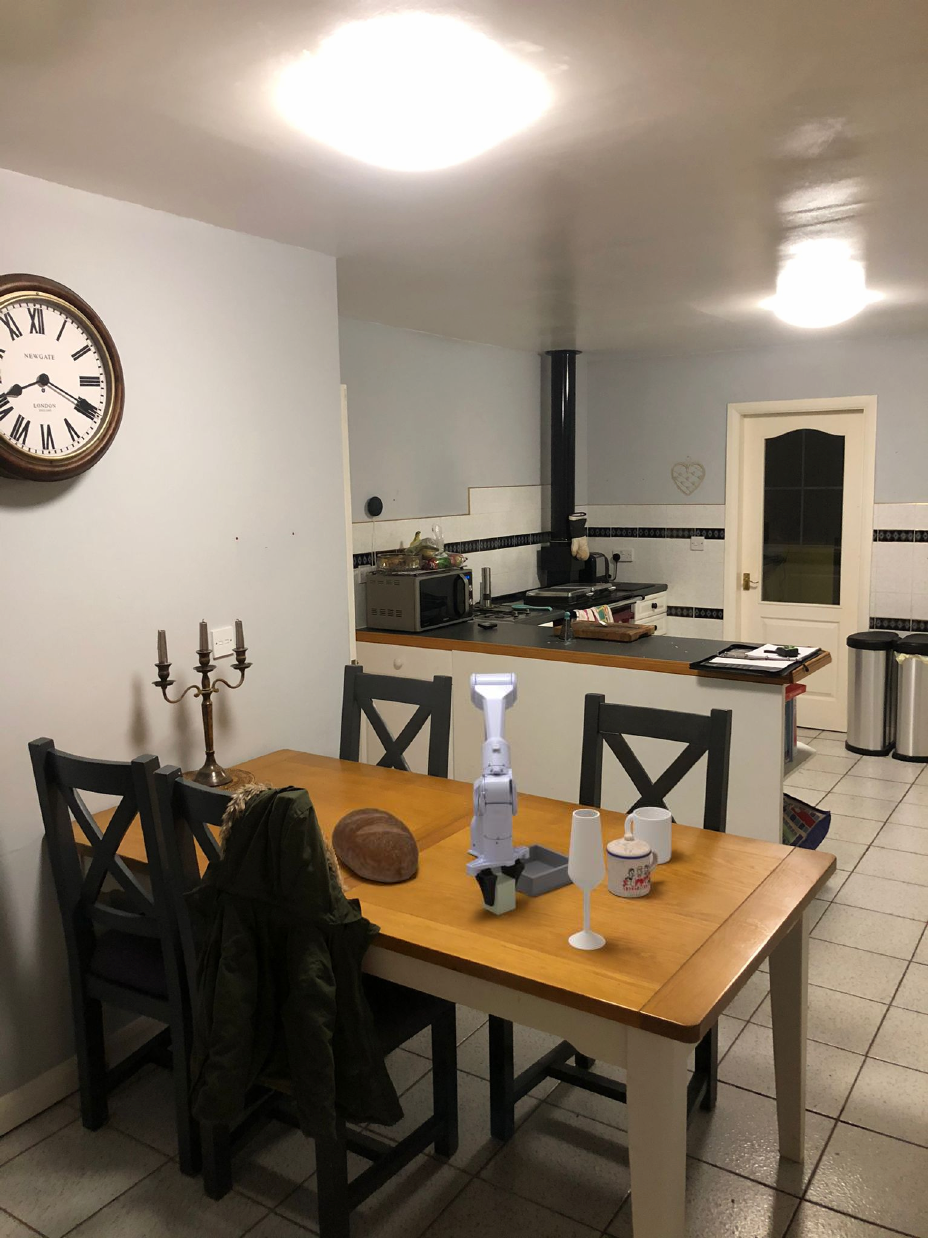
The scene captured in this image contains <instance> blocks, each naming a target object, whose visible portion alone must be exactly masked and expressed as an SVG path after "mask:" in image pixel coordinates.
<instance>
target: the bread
mask: <svg viewBox="0 0 928 1238" xmlns="http://www.w3.org/2000/svg"><path fill="white" fill-rule="evenodd" d="M331 845H332V849H333V848H334V849H333V851H334V850H335V852H334V853H335V854H336V856H338V858H339V859H340V860H341V862H343V863H344V864H345V865H346V866H347V867H348V868H350V869H351V870H353V872H355V873H356V874H357V875H358V876H360V877H362V878H365V879H368V880H371V881H376V882H381V883H387V884H388V883H389V884H390V883H391V884H392V883H396V882H397V883H398V882H401V881H405V880H407V879H410V878H411V877H412V876H413V875H414V873H415V872H416V870H417V869H418V864H419V856H420V855H419V849H418V846H417V841H416V839H415V838H414V836H413V833H412V832H411V830H410V829H409V827H408V826H407V825H406V824H405V823H404V822H403V821H402V820H401V819H399V818H398V817H396V816H395V815H393V814H392V813H390V812H388V811H386V810H381V809H379V808H373V807H366V808H359V809H355V810H353V811H350V812H349V813H347V814H346V815H345V816H343V817H342V818H341V819H340V820H338V822H337V824H335V826H334V828H333V832H332V835H331Z"/></svg>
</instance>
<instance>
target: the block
mask: <svg viewBox="0 0 928 1238" xmlns="http://www.w3.org/2000/svg"><path fill="white" fill-rule="evenodd" d="M495 875H497V876H498V878H497V881H496V886H495V901H494V906H492V907H490V906H488V905H486V904H485V902H484V898H483V897H482V907H483V909H485V910H488V911H489V912H491V913H493V914H495V915H497V916H499V915H502V914H504V913H507V912H510V911H514V910H515V909H516V890H515V879H513V878H511V877H509V876H507V875H505V874H502V873H497V874H495Z"/></svg>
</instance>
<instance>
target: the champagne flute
mask: <svg viewBox="0 0 928 1238" xmlns="http://www.w3.org/2000/svg"><path fill="white" fill-rule="evenodd" d="M571 818H572V819H571V829H570V831H571V832H570V841H569V842H570V843H569V852H568V853H569V855H568V856H569V863H568V875H569V877H570V879H571V880H572V882H573V884H574V885H575V886H576V887H577V888H579V890H580V891H581V890H582V891H583V893H582V895H583V900H582V901H583V930H582V931H579V932H577V933H574V934H571V936H569V937H568V944H570V946H572V947H574V948H575V949H579V950H586V951H592V950H597V949H600V948H602V947H604V946H605V944H606V939H605V938H604V937H603V936H602V935H599V934H598V933H595V932H593V931H592V930H591V891H592V890H594V889H595V888H596V887H598V886H599V885H600V884H601V883H602V881H603V880H604V878H605V876H606V866H605V855H604V847H603V836H602V835H603V834H602V825H601V823H602V822H601V814H600V812H599V811H597V810H595V809H590V808H589V809H588V808H585V809H584V808H583V809H582V808H580V809H577V810H574V811H573V812H572V817H571Z"/></svg>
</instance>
